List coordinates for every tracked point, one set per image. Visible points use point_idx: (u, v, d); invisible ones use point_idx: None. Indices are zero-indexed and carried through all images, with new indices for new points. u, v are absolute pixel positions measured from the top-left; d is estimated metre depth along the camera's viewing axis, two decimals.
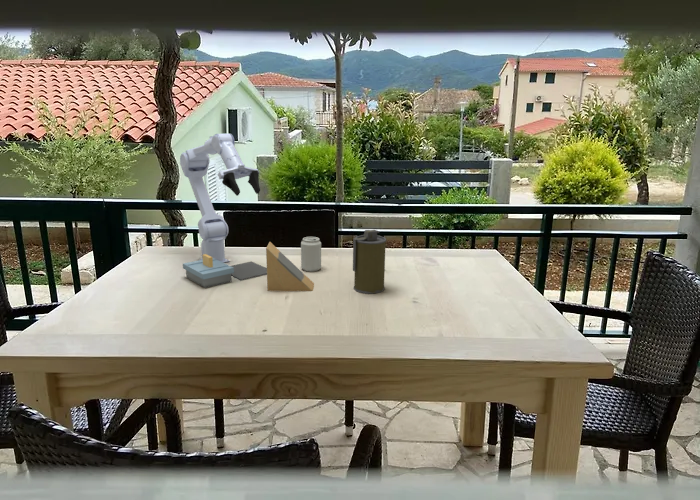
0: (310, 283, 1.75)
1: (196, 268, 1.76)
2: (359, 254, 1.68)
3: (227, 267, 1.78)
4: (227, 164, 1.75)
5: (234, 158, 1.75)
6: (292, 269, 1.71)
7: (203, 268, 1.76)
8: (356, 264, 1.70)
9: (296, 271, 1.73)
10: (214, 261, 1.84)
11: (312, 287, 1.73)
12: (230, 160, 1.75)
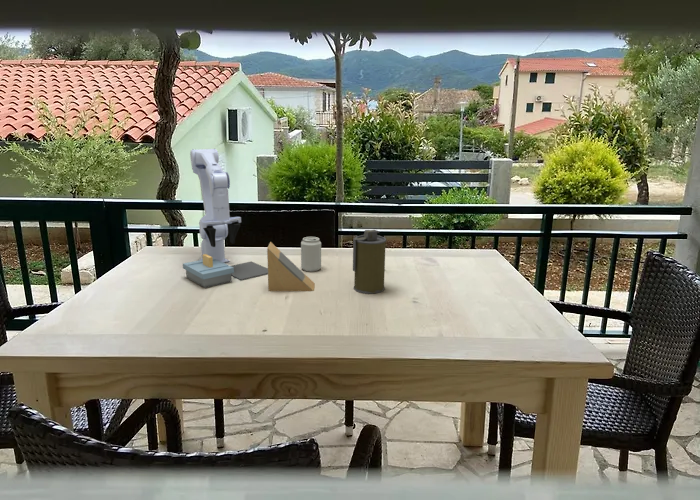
0: (311, 283, 1.75)
1: (196, 268, 1.76)
2: (359, 254, 1.68)
3: (227, 267, 1.78)
4: (214, 212, 1.80)
5: (222, 210, 1.80)
6: (293, 269, 1.71)
7: (203, 268, 1.76)
8: (356, 264, 1.70)
9: (297, 271, 1.72)
10: (214, 261, 1.84)
11: (313, 287, 1.73)
12: (218, 211, 1.79)
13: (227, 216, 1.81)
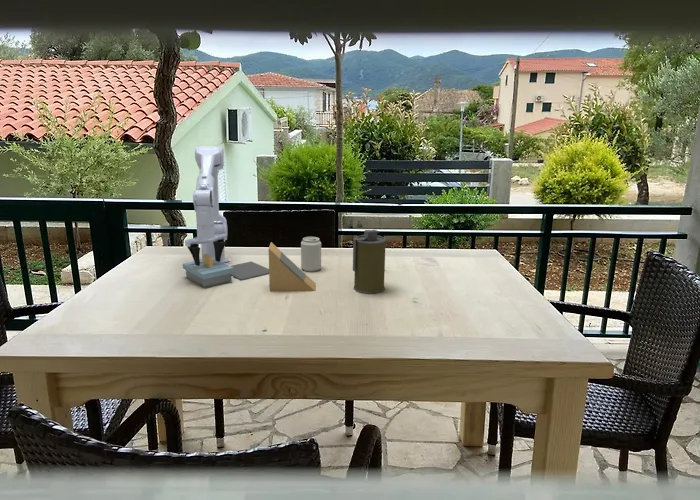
0: (312, 283, 1.75)
1: (196, 268, 1.76)
2: (359, 254, 1.68)
3: (227, 267, 1.78)
4: (198, 230, 1.74)
5: (207, 229, 1.73)
6: (294, 269, 1.71)
7: (203, 268, 1.76)
8: (356, 264, 1.70)
9: (298, 271, 1.72)
10: (214, 261, 1.84)
11: (314, 287, 1.73)
12: (202, 229, 1.73)
13: (212, 234, 1.75)
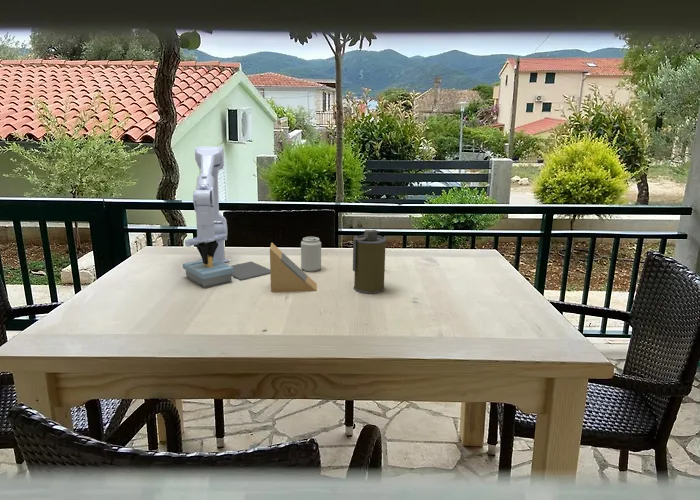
0: (313, 283, 1.75)
1: (196, 268, 1.76)
2: (359, 254, 1.68)
3: (227, 267, 1.78)
4: (198, 230, 1.74)
5: (207, 229, 1.73)
6: (295, 269, 1.70)
7: (203, 268, 1.76)
8: (356, 264, 1.70)
9: (299, 271, 1.72)
10: (214, 261, 1.84)
11: (315, 287, 1.73)
12: (202, 229, 1.73)
13: (212, 234, 1.75)
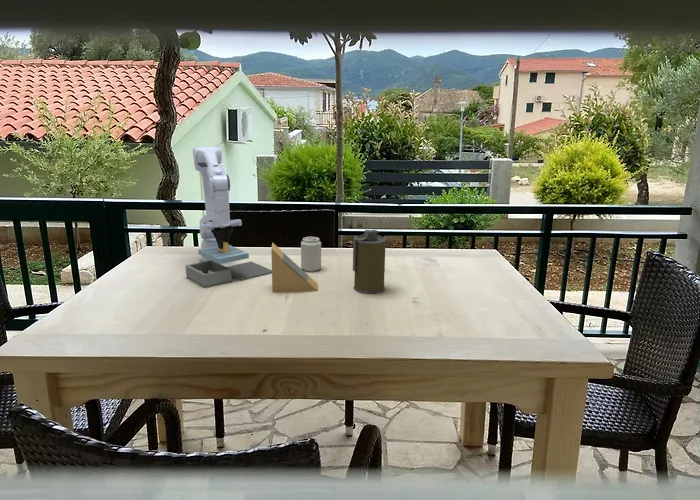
0: (314, 283, 1.75)
1: (212, 253, 1.79)
2: (359, 254, 1.68)
3: (242, 253, 1.80)
4: (214, 215, 1.76)
5: (222, 214, 1.76)
6: (297, 270, 1.70)
7: (218, 253, 1.79)
8: (356, 264, 1.70)
9: (300, 272, 1.72)
10: (229, 247, 1.87)
11: (317, 287, 1.73)
12: (218, 214, 1.76)
13: (227, 219, 1.78)
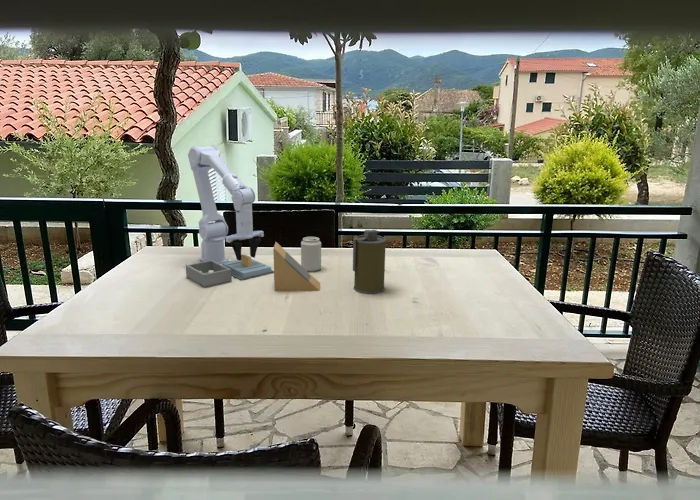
0: (317, 283, 1.75)
1: (236, 267, 1.86)
2: (359, 254, 1.68)
3: (265, 266, 1.88)
4: (238, 226, 1.84)
5: (246, 225, 1.83)
6: (299, 269, 1.71)
7: (242, 267, 1.86)
8: (356, 264, 1.70)
9: (303, 271, 1.73)
10: (251, 261, 1.94)
11: (319, 287, 1.74)
12: (242, 226, 1.83)
13: (251, 231, 1.85)
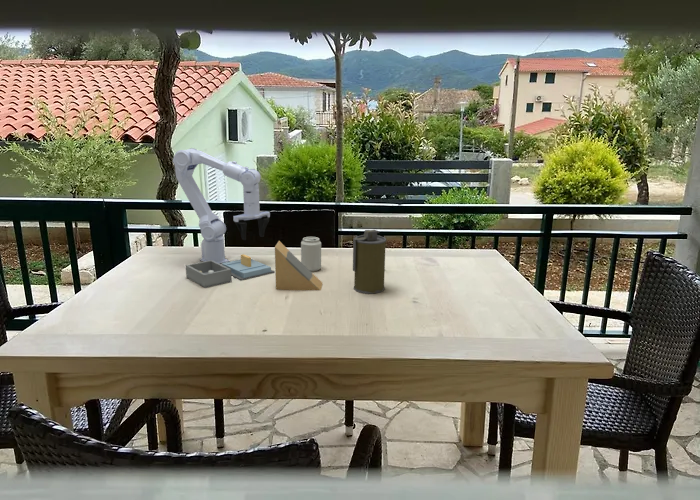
0: (318, 282, 1.75)
1: (236, 267, 1.86)
2: (359, 254, 1.68)
3: (265, 266, 1.88)
4: (245, 207, 1.90)
5: (253, 206, 1.90)
6: (300, 268, 1.72)
7: (242, 267, 1.86)
8: (356, 264, 1.70)
9: (304, 270, 1.73)
10: (251, 261, 1.94)
11: (320, 286, 1.74)
12: (249, 206, 1.90)
13: (257, 211, 1.92)
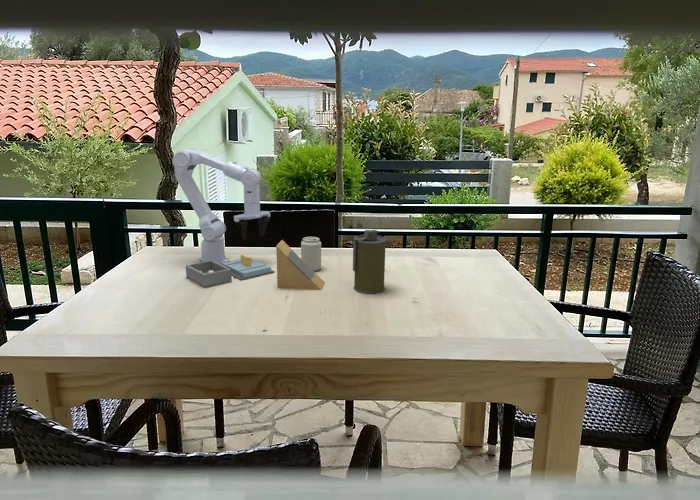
0: (320, 282, 1.76)
1: (236, 267, 1.86)
2: (359, 254, 1.68)
3: (265, 266, 1.88)
4: (246, 206, 1.91)
5: (254, 205, 1.90)
6: (302, 267, 1.73)
7: (242, 267, 1.86)
8: (356, 264, 1.70)
9: (306, 270, 1.74)
10: (251, 261, 1.94)
11: (321, 286, 1.74)
12: (250, 206, 1.90)
13: (258, 211, 1.92)
